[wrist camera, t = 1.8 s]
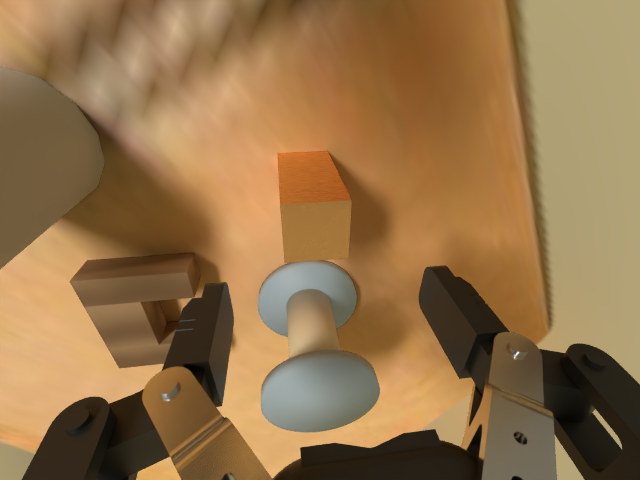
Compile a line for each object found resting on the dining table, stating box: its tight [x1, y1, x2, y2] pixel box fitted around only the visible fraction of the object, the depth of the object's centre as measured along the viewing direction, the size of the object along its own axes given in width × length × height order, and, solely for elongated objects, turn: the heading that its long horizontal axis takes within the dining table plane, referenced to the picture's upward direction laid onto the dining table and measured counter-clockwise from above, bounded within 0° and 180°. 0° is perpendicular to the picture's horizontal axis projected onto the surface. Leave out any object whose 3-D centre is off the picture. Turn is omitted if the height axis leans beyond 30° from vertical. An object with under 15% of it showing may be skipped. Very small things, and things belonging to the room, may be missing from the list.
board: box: [70, 253, 200, 368], centre depth 26 cm, size 10×8×2 cm
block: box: [278, 151, 352, 263], centre depth 19 cm, size 4×4×8 cm
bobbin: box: [258, 260, 380, 432], centre depth 25 cm, size 9×9×10 cm
